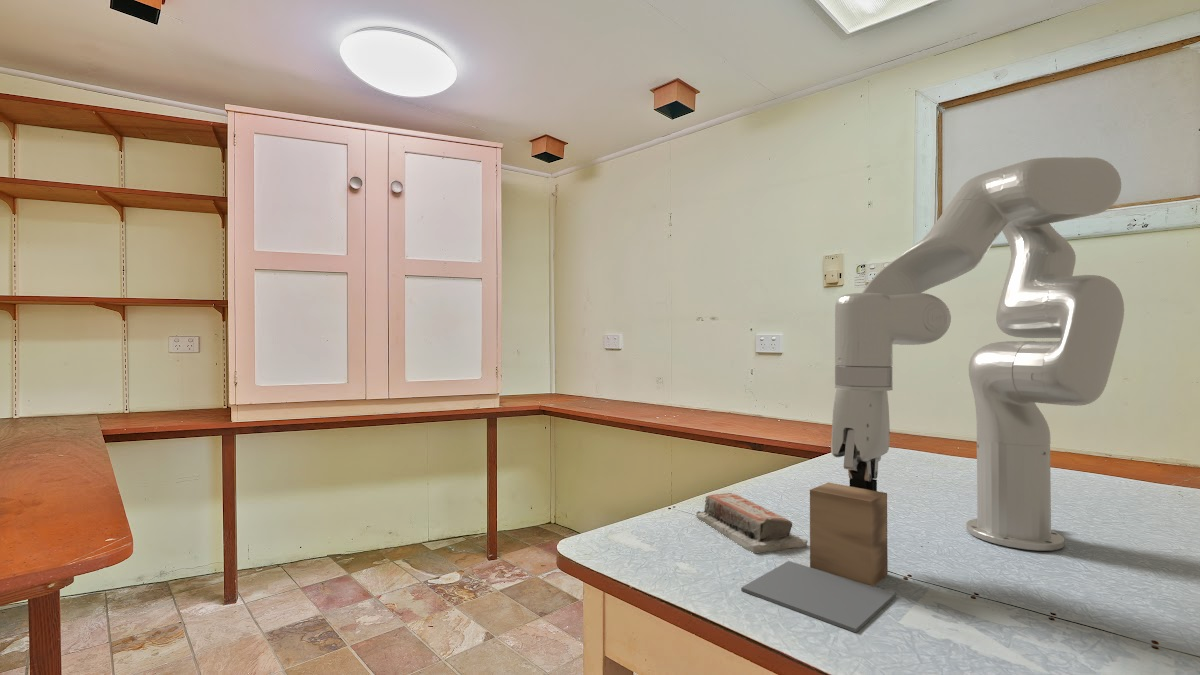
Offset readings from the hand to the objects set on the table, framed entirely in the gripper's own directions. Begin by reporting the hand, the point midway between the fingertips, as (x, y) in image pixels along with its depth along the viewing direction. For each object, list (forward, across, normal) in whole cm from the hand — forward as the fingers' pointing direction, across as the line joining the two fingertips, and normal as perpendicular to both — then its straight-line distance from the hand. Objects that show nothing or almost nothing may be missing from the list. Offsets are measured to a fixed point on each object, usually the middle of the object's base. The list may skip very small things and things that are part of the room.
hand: (863, 506), depth 79 cm
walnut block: (+8, +6, 0) cm, 10 cm away
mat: (+8, +15, 0) cm, 17 cm away
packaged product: (+9, +1, -18) cm, 20 cm away
